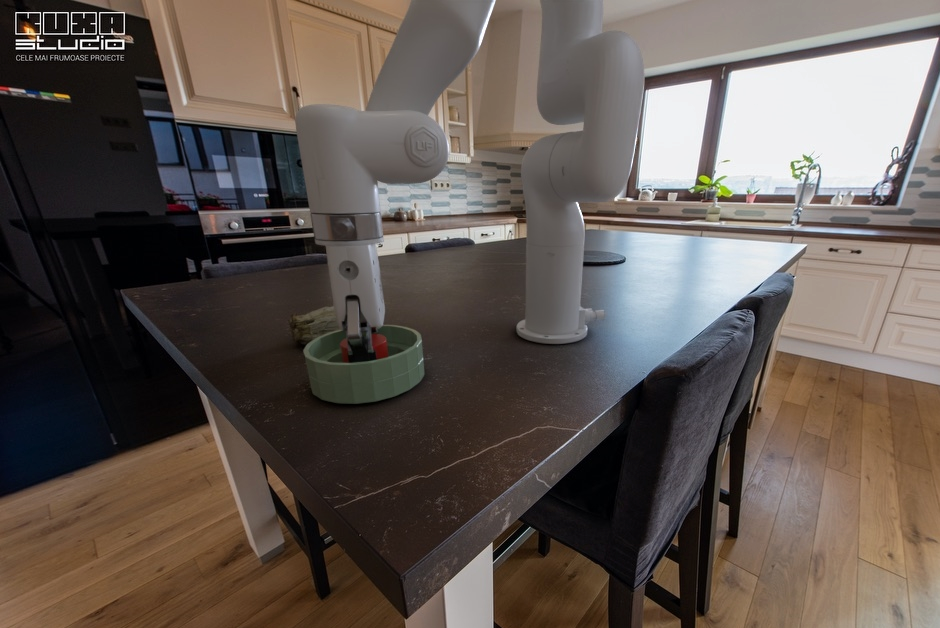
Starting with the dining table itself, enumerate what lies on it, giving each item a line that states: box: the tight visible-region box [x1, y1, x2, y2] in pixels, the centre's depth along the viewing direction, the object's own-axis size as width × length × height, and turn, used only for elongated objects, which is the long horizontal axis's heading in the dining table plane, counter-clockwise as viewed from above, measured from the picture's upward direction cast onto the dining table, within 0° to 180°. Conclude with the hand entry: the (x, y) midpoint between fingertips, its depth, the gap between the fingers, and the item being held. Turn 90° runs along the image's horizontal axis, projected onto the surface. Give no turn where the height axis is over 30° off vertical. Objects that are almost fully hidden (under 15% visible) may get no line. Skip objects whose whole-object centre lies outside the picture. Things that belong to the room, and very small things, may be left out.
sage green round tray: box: [302, 324, 426, 405], centre depth 52 cm, size 14×14×6 cm
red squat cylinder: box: [340, 332, 388, 363], centre depth 51 cm, size 6×6×6 cm
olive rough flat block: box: [288, 305, 340, 346], centre depth 67 cm, size 14×10×5 cm, turn 129°
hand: (367, 369), depth 52 cm, fingers closed on red squat cylinder, 5 cm apart
